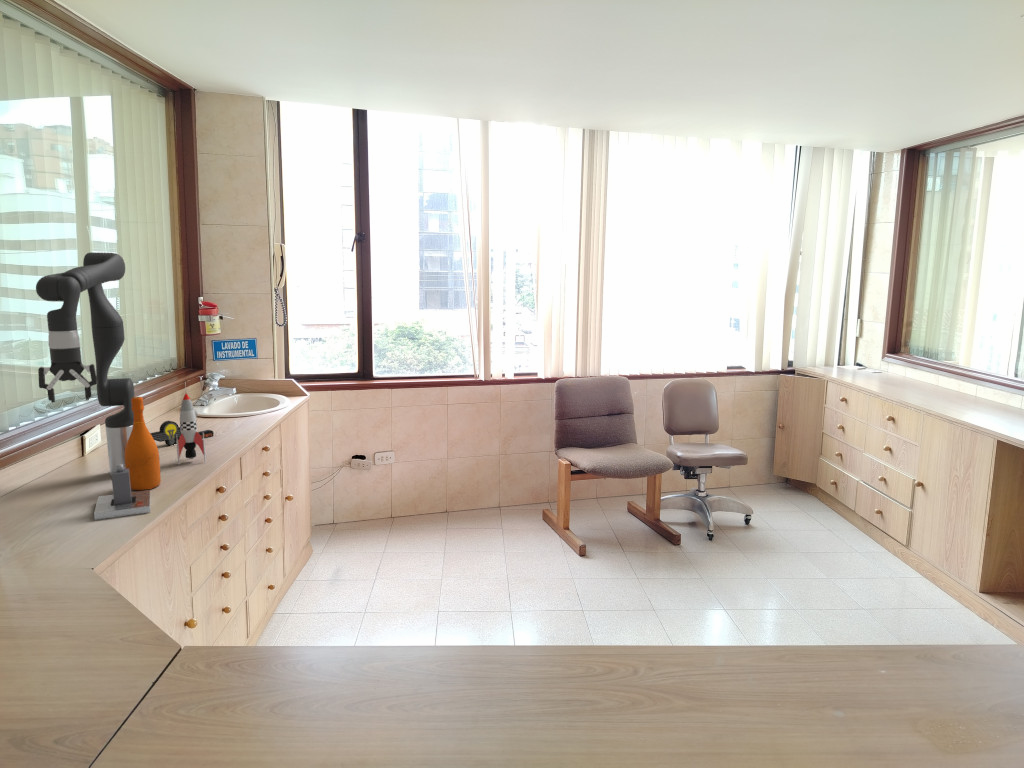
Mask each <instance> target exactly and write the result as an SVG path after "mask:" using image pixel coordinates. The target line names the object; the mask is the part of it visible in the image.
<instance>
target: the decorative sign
mask: <svg viewBox="0 0 1024 768" xmlns="http://www.w3.org/2000/svg"><path fill="white" fill-rule="evenodd" d="M197 433H199V434H200V436H201V438H202V440H203V434H204V440H205V439H208V438H213V437H214V431H213V430H211V429H205V430H201V431H197ZM150 434H151V436H152V437H153V439H154V441H155V442H160V443H163V442H164V443H165V445H167V446H169V445H173V446H175V445H174V444H177V443H176V441H177V439H178V441H179V438H180V436H181V435H182V434H181V431H180V425H178V423H177V422H175V421H172V420H166V421H163V422H162V423H161V425H160V427H159V431H155V432H150ZM176 434H177V437H176Z"/></svg>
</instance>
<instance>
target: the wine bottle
mask: <svg viewBox="0 0 1024 768" xmlns="http://www.w3.org/2000/svg"><path fill="white" fill-rule="evenodd" d="M131 402H132V411H133V412H134V423H133V429H132V432H131V434H130V437H129V439H128V442H127V445H126V449H125V466H126V469H129V474H130V485H131V491H146V490H152V489H154V488H155V489H156V487H158V486H160V484H161V476H162V475H161V461H160V454H159V453H160V452H159V449H158V445H157V444H156V443H157V442H156V440H154V439H153V437H152V436H151V434H150V433H151V432H150V431H149V429H148V427H147V425H146V422H145V419H144V410H145V405H144V398H143V397H141V396H134V397H133V398H132V399H131Z"/></svg>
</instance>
